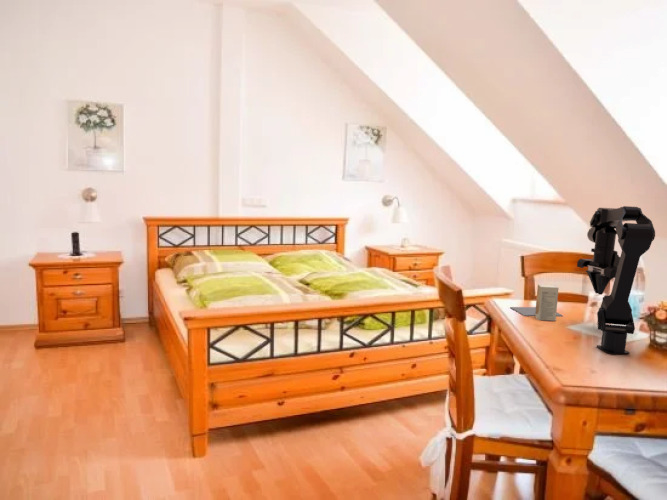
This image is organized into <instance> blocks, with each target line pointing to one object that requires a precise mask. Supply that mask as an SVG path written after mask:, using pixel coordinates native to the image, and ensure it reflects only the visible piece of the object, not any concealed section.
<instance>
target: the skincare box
mask: <svg viewBox="0 0 667 500" xmlns="http://www.w3.org/2000/svg"><path fill="white" fill-rule="evenodd" d="M536 289H537V291H536V302H535V307H536V312H535V316H534V317H535V318H536V320H537V321H554V322H556V320H557V316H556V312H557V311H558V298H559V287H558V286H557V285H556V284H555V285H554V284H541V283H540V284H537V288H536Z"/></svg>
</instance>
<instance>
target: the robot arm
mask: <svg viewBox="0 0 667 500" xmlns="http://www.w3.org/2000/svg"><path fill="white" fill-rule="evenodd" d="M630 221H632V223H630ZM633 222H636V223H633ZM623 223H624V224H623ZM589 226H590V228H589V229H588V231H587V238H588V240H589V241H590V242H591V243H594V248H591V250H590V251H591V253H593V257H592V258H579V259H578V260H577V262H576V263H577V264H576V267H578V268H581V269H583V268H587V270H585V273H586V274H587V277H588V278H589V280H590V283H591V286H592V288H593V290H594V293H595V294H598V296H599V295H603V293H604V292H605V289H606V288H607V285H608V284H609V282H610V281H611V280H612V279H614V281H613V285H612V289H611V292H610V294H609V295H604V296H603V297H602V300H601V304H600V307H598V311H597V312H596V314H597V316H596V317H597V330H599V331H601V332H602V334H601V343H600V345H599V344H598V345H596V348H598V349H600V350H601V351H603V352H605V353H606V354H609V355H630V352H629V351H628V350H626V346H627V345H626V344H627V339H628V337H627V336H628V334H630V335H634V332H635V329H636V327H635V323H634V317H633V308H632V307H631V305H630V301H629V300H630V299H629V298H630V295H631V291H632V287H633V284H634V281H635V277H636V274H637V269H638V266H639V263H640V259H641V257H642V256H643V255H644V254H645V253H647V251H649V250H650V248H651V245H652V243H653V241H654V240H655V238H656V230H655V227H654V224H653V221H652V220H651V219H650V218H649V217H647V216H646V215H645V213H643V211H642V209H641V207H638V206H629V205H628V206H627V205H624V206H620V207H618V208H613V207H598V208H597V210H595V211H594V214H592V217H591V219H590V221H589ZM616 238H617V242H618V244H619V246H620V249H621V253H620V256H619V254H618V251H617V250H615V247H616V246H615V245H616Z"/></svg>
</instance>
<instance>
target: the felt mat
mask: <svg viewBox="0 0 667 500" xmlns="http://www.w3.org/2000/svg"><path fill="white" fill-rule="evenodd" d="M509 308H510V309H511V310H513V311H514V312H516V313H518V314H520V315H522V317H535V312H536V306H532V307H531V306H528V307H527V306H526V307H525V306H511V307H509ZM556 317H564V315H563V314H562V313H559V312H557V311H556Z"/></svg>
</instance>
